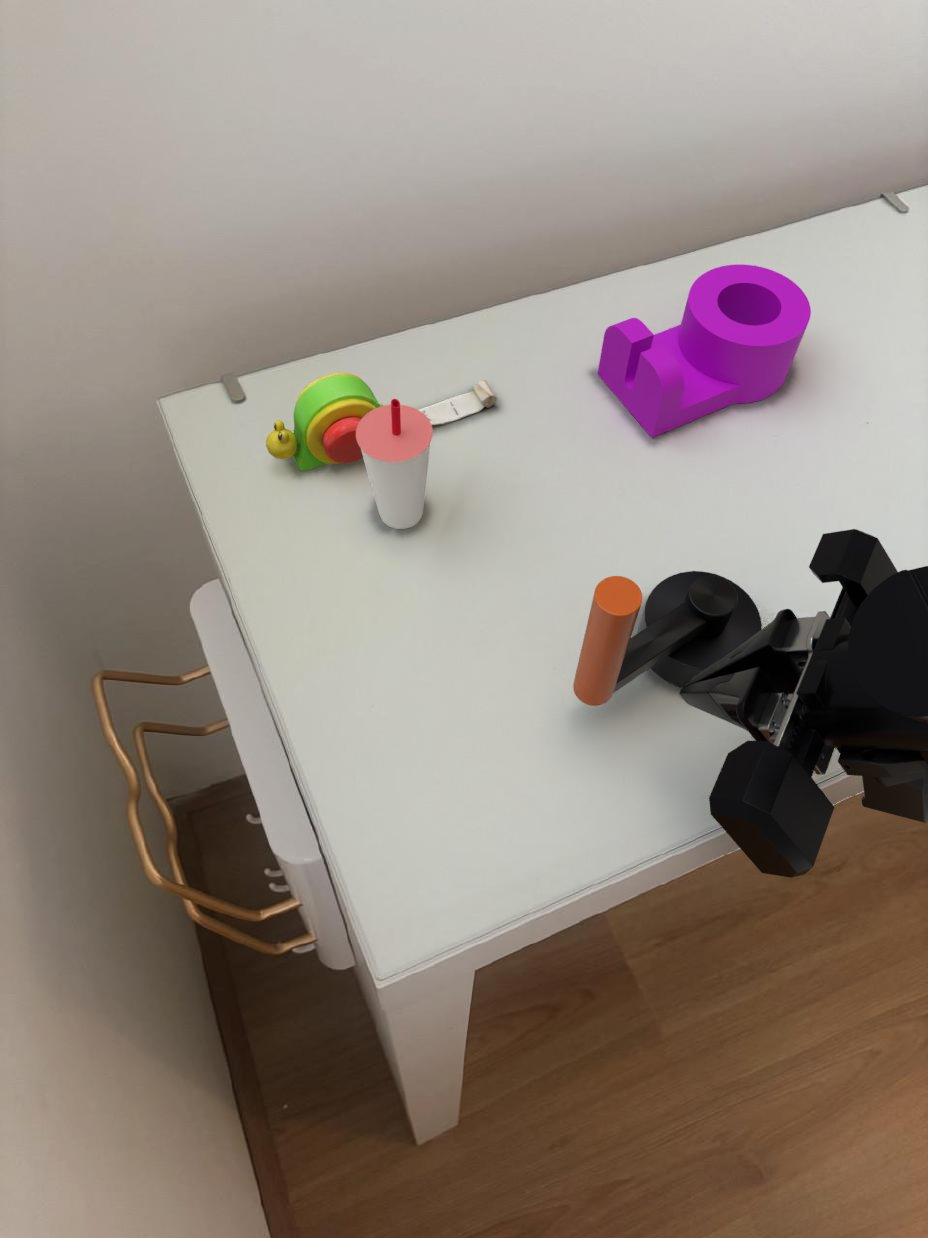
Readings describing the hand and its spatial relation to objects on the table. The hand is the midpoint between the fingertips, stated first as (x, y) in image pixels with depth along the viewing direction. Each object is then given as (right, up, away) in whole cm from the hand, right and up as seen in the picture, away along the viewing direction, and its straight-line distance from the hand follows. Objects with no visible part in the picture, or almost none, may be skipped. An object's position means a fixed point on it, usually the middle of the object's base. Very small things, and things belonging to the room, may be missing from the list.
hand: (685, 693), depth 54 cm
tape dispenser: (+8, +26, +26) cm, 37 cm away
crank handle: (0, +2, +7) cm, 8 cm away
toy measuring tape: (-20, +20, +22) cm, 35 cm away
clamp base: (+3, +3, +12) cm, 12 cm away
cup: (-18, +13, +18) cm, 28 cm away
